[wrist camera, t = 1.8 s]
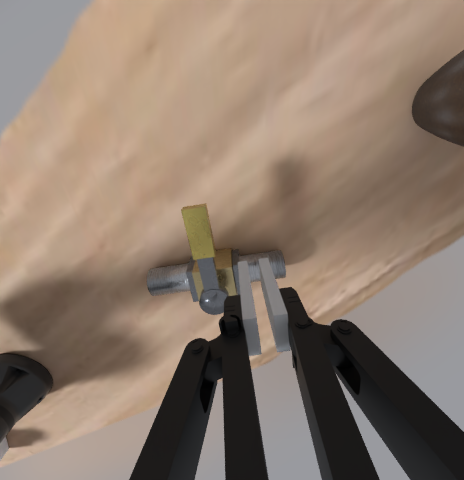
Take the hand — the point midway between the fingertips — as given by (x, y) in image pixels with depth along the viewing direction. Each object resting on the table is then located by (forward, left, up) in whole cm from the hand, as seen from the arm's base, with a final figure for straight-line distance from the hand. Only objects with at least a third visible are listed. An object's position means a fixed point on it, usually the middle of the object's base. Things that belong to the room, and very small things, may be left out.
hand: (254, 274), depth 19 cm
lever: (-6, -5, -13) cm, 15 cm away
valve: (-6, -11, -22) cm, 26 cm away
